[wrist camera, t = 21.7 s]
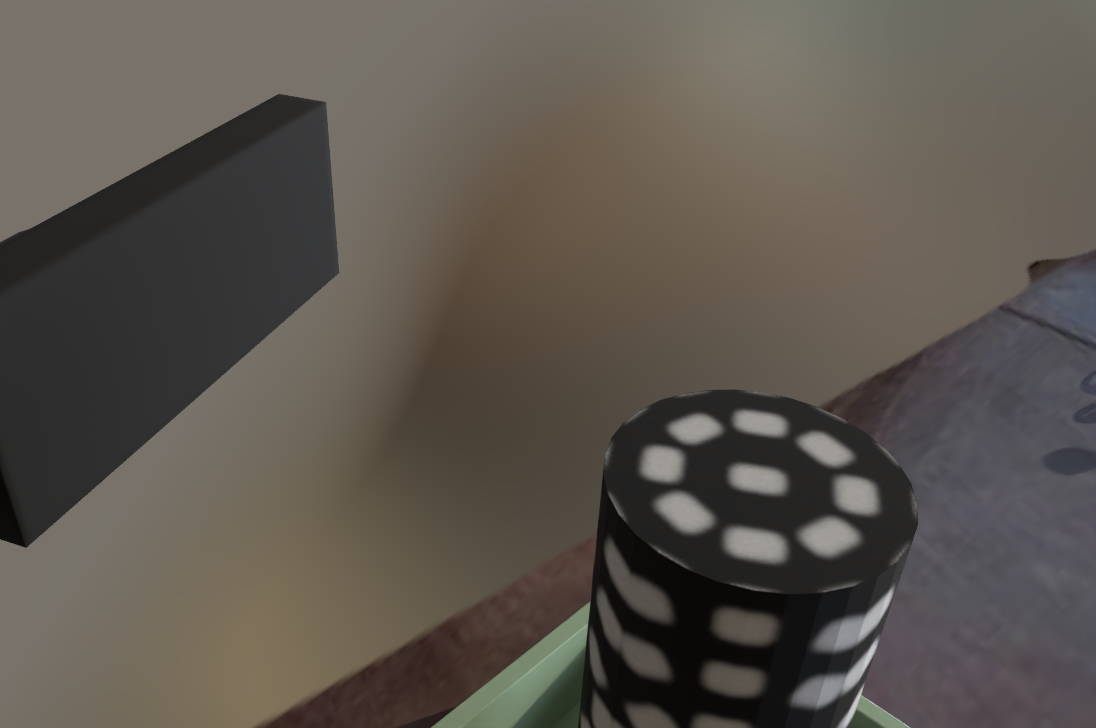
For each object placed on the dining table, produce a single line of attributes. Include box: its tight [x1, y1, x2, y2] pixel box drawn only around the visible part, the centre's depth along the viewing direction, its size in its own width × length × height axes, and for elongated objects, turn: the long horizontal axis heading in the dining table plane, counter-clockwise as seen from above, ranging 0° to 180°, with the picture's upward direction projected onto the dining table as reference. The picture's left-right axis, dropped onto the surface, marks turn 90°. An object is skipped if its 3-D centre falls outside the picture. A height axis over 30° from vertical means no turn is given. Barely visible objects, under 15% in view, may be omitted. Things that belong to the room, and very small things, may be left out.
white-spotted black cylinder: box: [578, 390, 918, 728], centre depth 32 cm, size 8×8×20 cm
